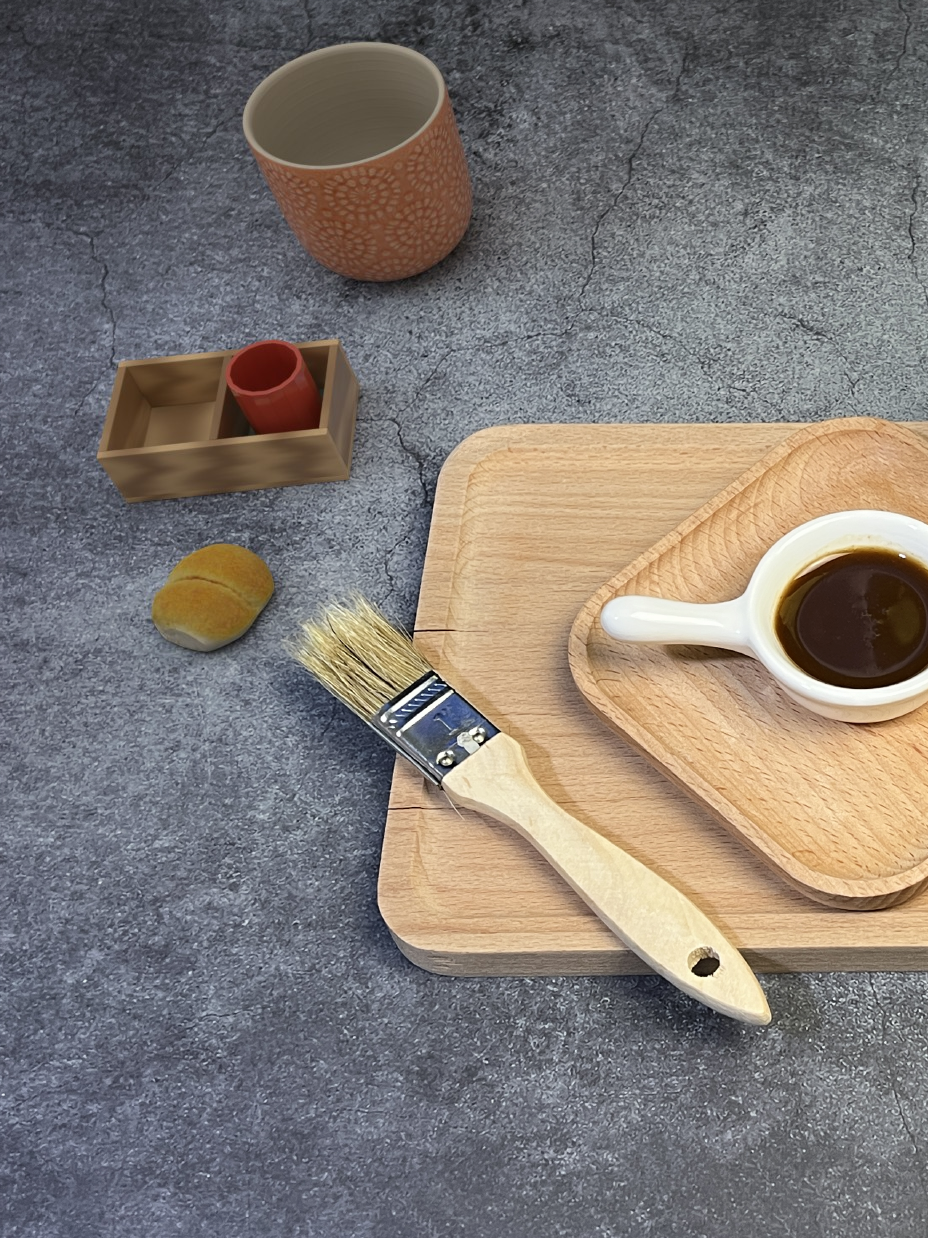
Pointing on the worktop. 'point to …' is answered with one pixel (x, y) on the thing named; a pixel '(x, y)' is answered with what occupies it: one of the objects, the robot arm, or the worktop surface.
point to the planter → (363, 158)
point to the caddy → (220, 428)
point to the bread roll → (212, 597)
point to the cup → (274, 388)
